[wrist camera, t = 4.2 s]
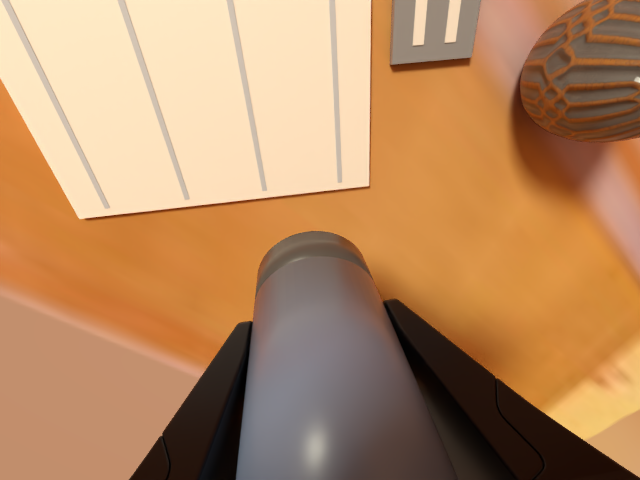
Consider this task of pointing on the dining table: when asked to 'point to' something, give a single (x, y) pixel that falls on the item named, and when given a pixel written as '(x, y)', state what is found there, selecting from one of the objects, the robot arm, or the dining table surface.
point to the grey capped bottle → (330, 375)
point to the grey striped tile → (432, 30)
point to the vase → (587, 73)
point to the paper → (191, 97)
